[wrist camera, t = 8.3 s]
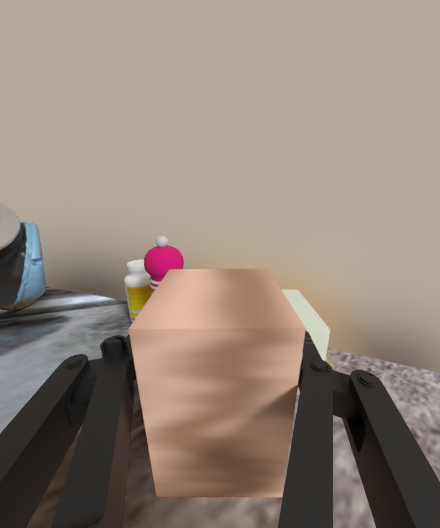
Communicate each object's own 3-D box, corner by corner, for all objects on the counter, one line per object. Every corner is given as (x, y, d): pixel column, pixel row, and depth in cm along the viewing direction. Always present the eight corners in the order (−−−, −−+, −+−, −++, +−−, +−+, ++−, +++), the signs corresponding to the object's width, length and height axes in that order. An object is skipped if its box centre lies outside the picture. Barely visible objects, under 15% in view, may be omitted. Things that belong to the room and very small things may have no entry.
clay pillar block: (156, 497, 12) (128, 328, 8) (179, 387, 18) (169, 269, 15) (282, 496, 12) (305, 328, 8) (260, 387, 18) (268, 268, 15)
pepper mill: (195, 357, 35) (188, 238, 29) (150, 366, 34) (132, 242, 28) (190, 332, 42) (183, 231, 36) (152, 338, 40) (138, 233, 34)
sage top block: (233, 363, 28) (233, 330, 26) (230, 315, 39) (230, 290, 38) (325, 362, 28) (330, 329, 26) (295, 314, 39) (297, 289, 38)
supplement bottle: (165, 319, 46) (159, 263, 42) (133, 329, 43) (124, 270, 39) (156, 307, 52) (150, 256, 48) (127, 315, 48) (118, 261, 45)
